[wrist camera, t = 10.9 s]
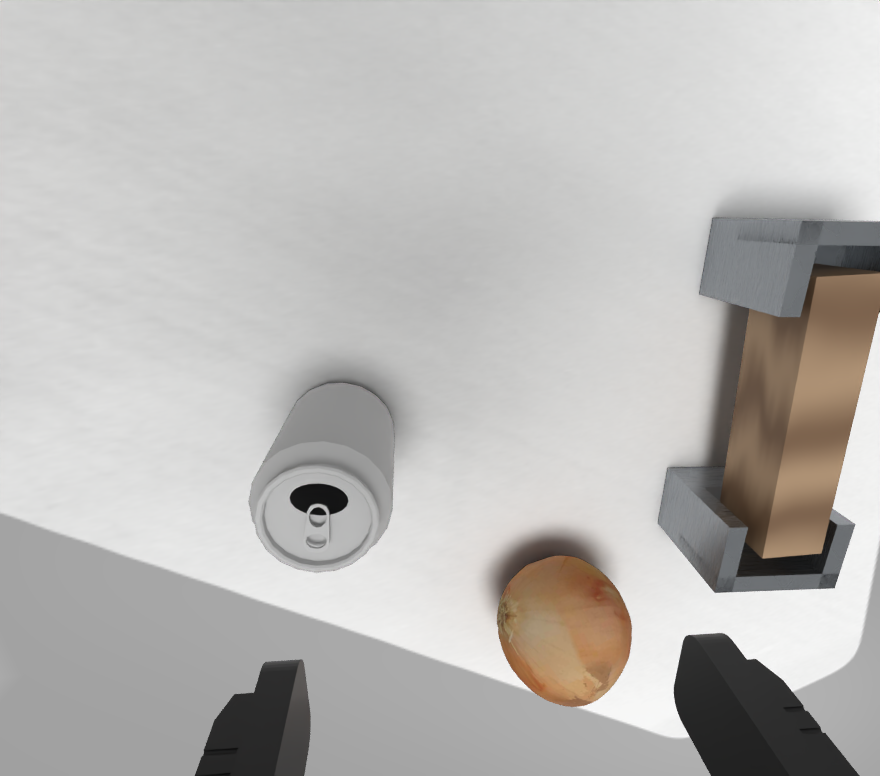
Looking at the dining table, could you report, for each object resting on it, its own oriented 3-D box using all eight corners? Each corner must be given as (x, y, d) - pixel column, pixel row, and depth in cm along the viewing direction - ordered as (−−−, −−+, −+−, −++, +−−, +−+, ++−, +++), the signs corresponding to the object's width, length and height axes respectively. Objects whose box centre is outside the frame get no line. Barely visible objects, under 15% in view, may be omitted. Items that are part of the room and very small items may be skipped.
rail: (755, 267, 32) (816, 277, 27) (817, 263, 32) (888, 273, 28) (717, 515, 38) (762, 558, 33) (769, 511, 38) (821, 553, 34)
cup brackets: (712, 218, 34) (801, 220, 26) (833, 220, 35) (953, 223, 27) (657, 523, 42) (714, 592, 34) (757, 520, 42) (834, 588, 35)
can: (398, 382, 36) (397, 461, 25) (390, 477, 39) (386, 588, 27) (289, 374, 35) (237, 451, 24) (288, 471, 38) (240, 583, 26)
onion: (494, 527, 41) (522, 623, 31) (615, 534, 42) (677, 628, 32) (478, 624, 44) (499, 739, 34) (590, 628, 45) (641, 740, 35)
